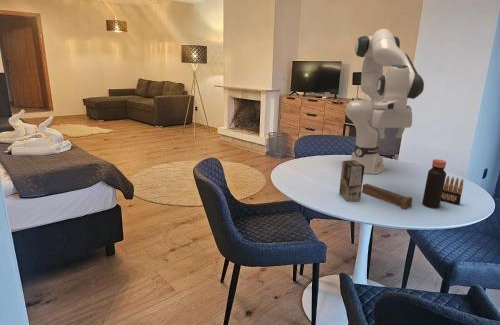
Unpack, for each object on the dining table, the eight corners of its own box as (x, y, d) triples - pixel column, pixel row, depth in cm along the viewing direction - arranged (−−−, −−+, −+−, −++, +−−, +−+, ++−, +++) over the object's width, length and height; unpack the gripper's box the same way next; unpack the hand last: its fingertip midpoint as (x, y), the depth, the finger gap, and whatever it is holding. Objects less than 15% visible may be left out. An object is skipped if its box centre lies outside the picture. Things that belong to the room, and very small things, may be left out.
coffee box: (360, 201, 148) (365, 166, 144) (347, 201, 147) (351, 166, 142) (351, 193, 157) (355, 159, 152) (338, 193, 156) (342, 160, 151)
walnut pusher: (367, 190, 161) (368, 182, 159) (411, 206, 144) (412, 197, 143) (359, 193, 157) (361, 185, 156) (404, 209, 141) (405, 200, 140)
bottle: (424, 200, 150) (432, 157, 145) (441, 205, 146) (450, 161, 140) (420, 205, 145) (428, 161, 140) (437, 210, 141) (447, 164, 135)
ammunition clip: (431, 199, 153) (436, 174, 149) (432, 197, 154) (437, 172, 151) (459, 205, 147) (465, 179, 143) (459, 204, 148) (465, 178, 144)
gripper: (405, 105, 146) (401, 137, 149) (370, 104, 137) (367, 138, 140) (418, 105, 141) (413, 138, 143) (383, 104, 132) (379, 140, 134)
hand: (390, 138), depth 141 cm, fingers open, 8 cm apart
